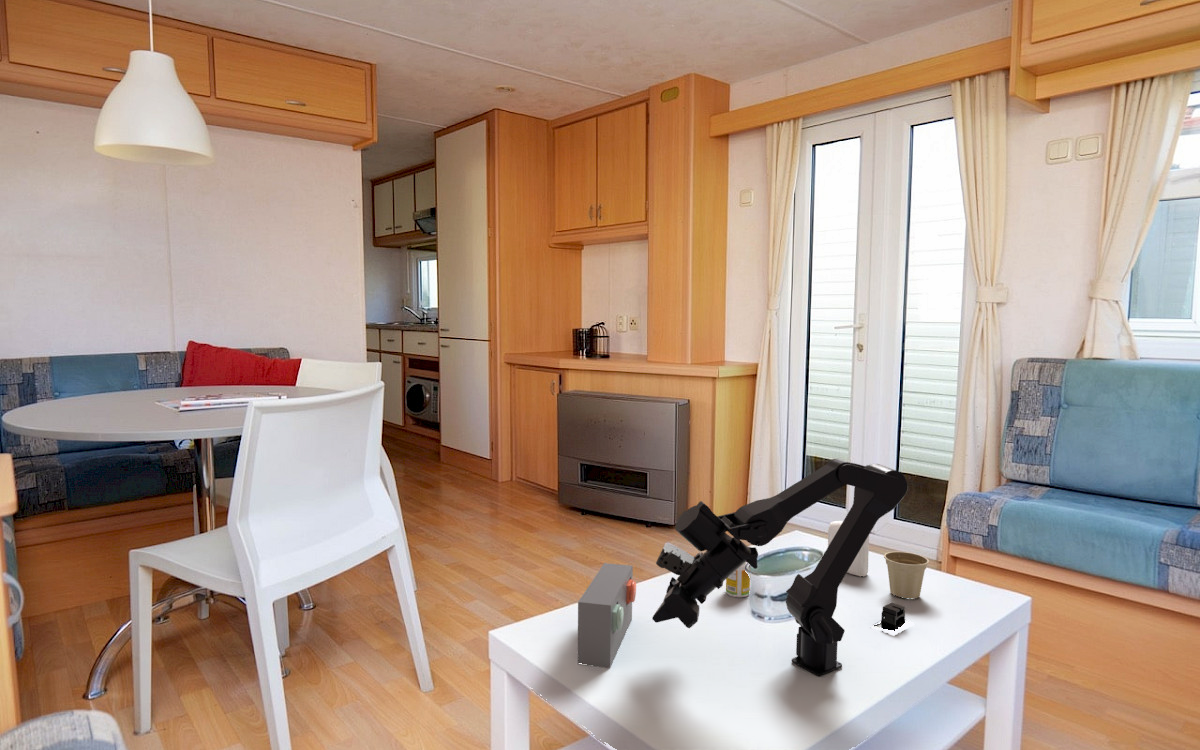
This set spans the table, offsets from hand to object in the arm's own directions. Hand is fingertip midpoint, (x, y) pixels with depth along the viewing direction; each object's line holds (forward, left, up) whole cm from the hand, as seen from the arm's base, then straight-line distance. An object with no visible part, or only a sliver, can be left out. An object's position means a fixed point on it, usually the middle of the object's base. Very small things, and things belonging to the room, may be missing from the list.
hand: (654, 619), depth 127 cm
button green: (+6, +6, -2) cm, 9 cm away
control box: (+12, +2, -8) cm, 14 cm away
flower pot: (-6, -68, -8) cm, 69 cm away
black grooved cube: (-14, -51, -9) cm, 54 cm away
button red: (+15, -4, -2) cm, 15 cm away
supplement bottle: (+15, -36, -8) cm, 40 cm away
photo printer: (+11, -70, -8) cm, 72 cm away
